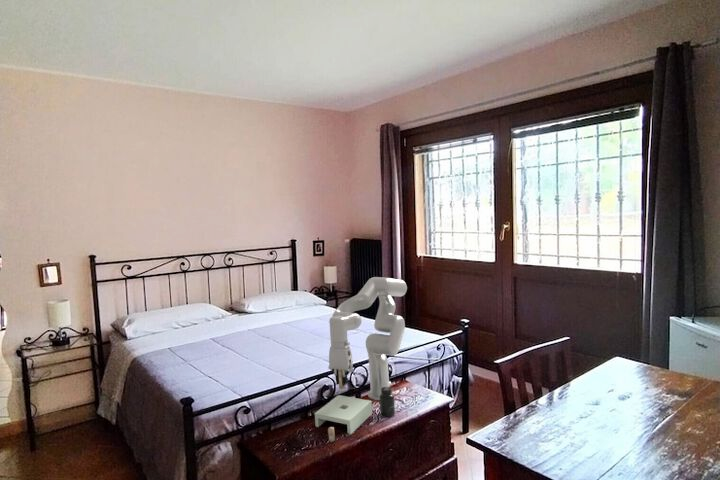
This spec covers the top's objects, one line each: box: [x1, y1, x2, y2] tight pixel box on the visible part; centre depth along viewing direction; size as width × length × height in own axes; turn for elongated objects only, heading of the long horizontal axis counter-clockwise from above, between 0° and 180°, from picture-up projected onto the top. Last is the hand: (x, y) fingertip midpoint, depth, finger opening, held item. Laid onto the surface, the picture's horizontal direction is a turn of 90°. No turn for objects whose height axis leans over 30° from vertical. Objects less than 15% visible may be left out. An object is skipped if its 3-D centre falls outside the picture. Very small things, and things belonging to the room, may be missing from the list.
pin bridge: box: [314, 394, 373, 435], centre depth 196 cm, size 20×18×6 cm
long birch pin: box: [338, 370, 346, 390], centre depth 194 cm, size 2×2×11 cm
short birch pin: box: [327, 426, 336, 443], centre depth 179 cm, size 2×2×5 cm
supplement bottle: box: [379, 387, 396, 418], centre depth 198 cm, size 7×7×12 cm
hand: (341, 383), depth 195 cm, fingers closed on long birch pin, 2 cm apart
